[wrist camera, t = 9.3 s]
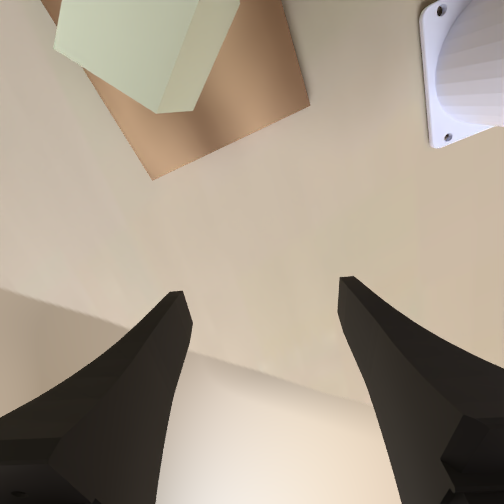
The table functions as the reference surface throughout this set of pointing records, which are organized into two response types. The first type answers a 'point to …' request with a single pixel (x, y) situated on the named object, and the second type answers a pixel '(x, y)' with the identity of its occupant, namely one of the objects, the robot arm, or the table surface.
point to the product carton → (147, 45)
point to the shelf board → (217, 93)
